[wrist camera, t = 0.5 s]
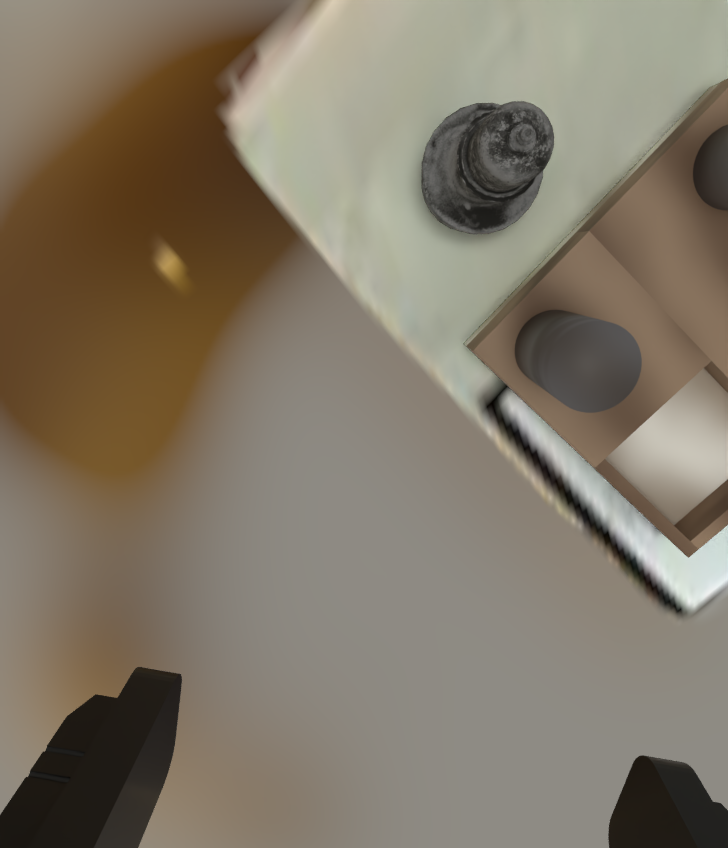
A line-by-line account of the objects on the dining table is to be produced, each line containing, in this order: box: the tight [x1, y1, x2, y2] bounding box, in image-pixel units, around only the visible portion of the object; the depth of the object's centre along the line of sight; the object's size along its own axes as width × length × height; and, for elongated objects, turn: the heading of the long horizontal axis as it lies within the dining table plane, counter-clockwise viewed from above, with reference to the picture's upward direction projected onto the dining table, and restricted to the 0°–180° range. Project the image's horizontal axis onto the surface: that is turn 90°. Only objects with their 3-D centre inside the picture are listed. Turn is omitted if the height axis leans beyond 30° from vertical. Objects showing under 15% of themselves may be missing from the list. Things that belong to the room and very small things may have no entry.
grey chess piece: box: [422, 101, 554, 234], centre depth 26 cm, size 6×6×12 cm
